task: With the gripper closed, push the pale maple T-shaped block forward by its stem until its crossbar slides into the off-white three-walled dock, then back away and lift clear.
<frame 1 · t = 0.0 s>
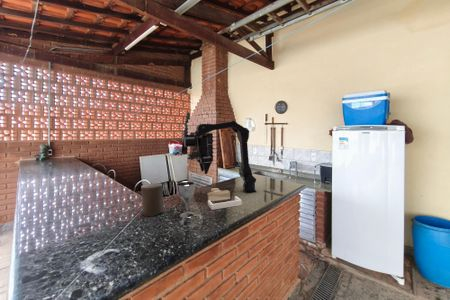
hand: (204, 172, 121), 15 cm above the countertop, tool pointing down, fingers open, 9 cm apart
t block: (217, 197, 121), on the countertop
dock: (224, 204, 109), on the countertop
wine glass: (187, 215, 97), on the countertop
pillar candle: (153, 213, 102), on the countertop
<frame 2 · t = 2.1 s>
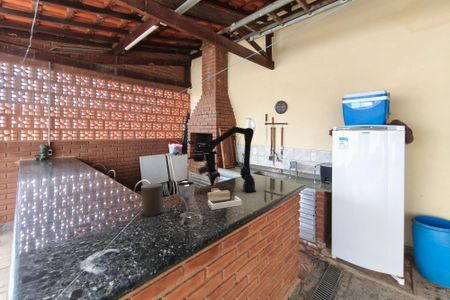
hand: (211, 185, 132), 4 cm above the countertop, tool pointing down, fingers closed
nothing on the countertop moved.
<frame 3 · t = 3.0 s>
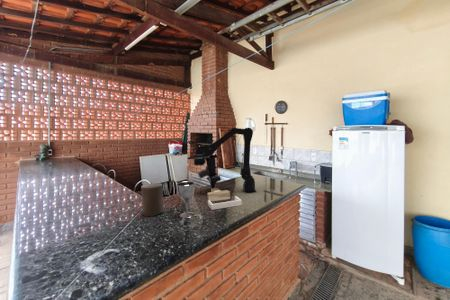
hand: (212, 189, 131), 2 cm above the countertop, tool pointing down, fingers closed
nothing on the countertop moved.
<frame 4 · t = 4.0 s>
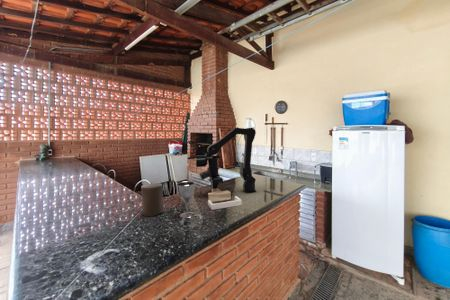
hand: (214, 191, 126), 2 cm above the countertop, tool pointing down, fingers closed
t block: (217, 197, 120), on the countertop, touching gripper
everything else where it was.
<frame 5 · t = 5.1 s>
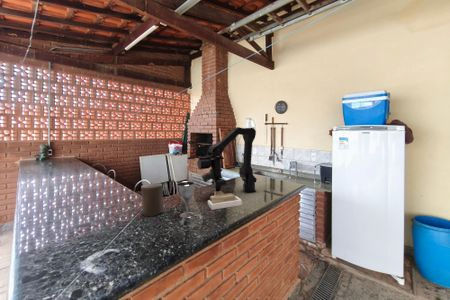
hand: (217, 194, 120), 2 cm above the countertop, tool pointing down, fingers closed
t block: (220, 201, 114), on the countertop, touching gripper
everything else where it was.
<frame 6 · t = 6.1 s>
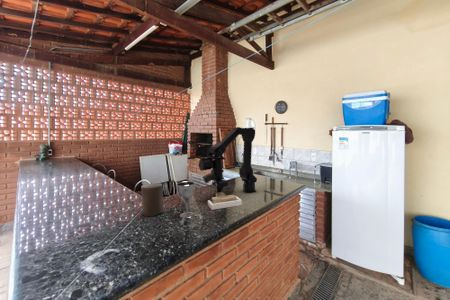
hand: (218, 195, 118), 2 cm above the countertop, tool pointing down, fingers closed
t block: (222, 202, 112), on the countertop, touching gripper
everything else where it was.
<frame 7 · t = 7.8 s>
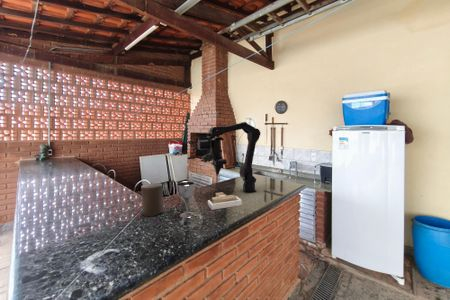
hand: (217, 174, 122), 13 cm above the countertop, tool pointing down, fingers closed
t block: (222, 202, 112), on the countertop
everything else where it was.
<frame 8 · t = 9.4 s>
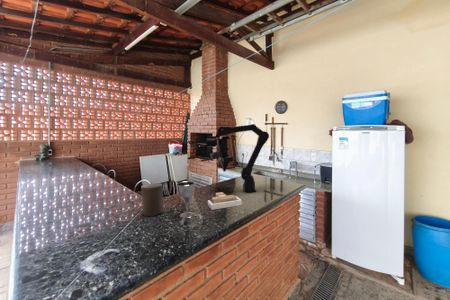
hand: (224, 171, 131), 13 cm above the countertop, tool pointing down, fingers closed
nothing on the countertop moved.
at the end: t block 0.2 cm from the target spot on the dock, point 0.0 cm above the dock's base; t block tilted 0° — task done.
